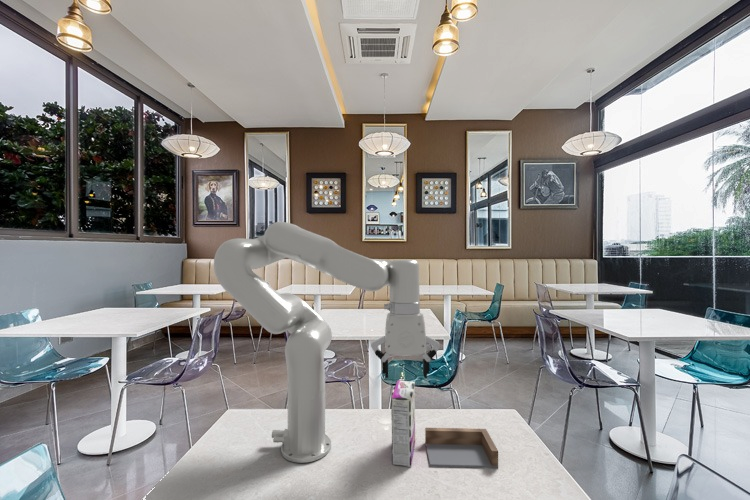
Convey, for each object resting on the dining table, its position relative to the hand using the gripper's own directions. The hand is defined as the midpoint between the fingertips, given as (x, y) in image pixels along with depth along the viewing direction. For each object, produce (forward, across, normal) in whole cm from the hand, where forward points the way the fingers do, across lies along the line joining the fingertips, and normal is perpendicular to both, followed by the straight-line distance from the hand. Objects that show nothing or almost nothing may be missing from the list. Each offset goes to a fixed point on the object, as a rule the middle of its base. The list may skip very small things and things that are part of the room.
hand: (405, 376), depth 86 cm
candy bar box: (+20, -1, 0) cm, 20 cm away
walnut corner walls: (+20, +13, 0) cm, 24 cm away
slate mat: (+20, +13, 0) cm, 24 cm away
